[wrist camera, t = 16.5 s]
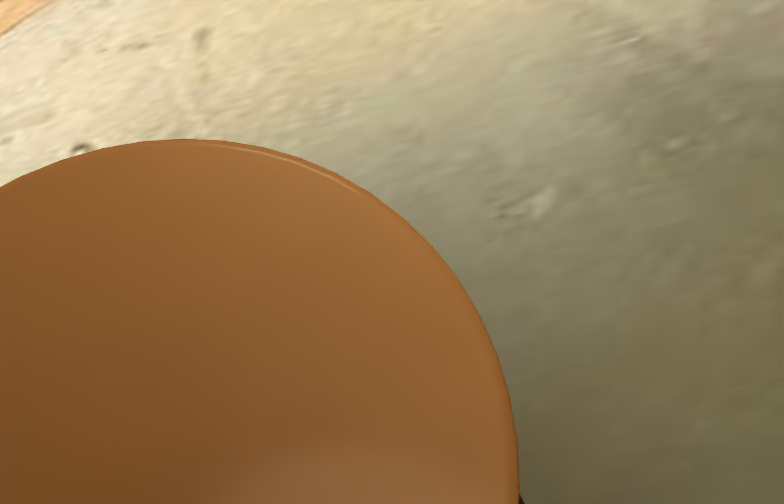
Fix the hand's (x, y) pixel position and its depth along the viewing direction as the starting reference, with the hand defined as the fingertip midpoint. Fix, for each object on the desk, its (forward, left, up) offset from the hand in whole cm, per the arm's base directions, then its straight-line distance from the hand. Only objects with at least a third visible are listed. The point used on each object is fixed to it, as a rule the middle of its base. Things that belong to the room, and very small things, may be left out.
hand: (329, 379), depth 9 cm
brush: (-2, -2, -8) cm, 9 cm away
